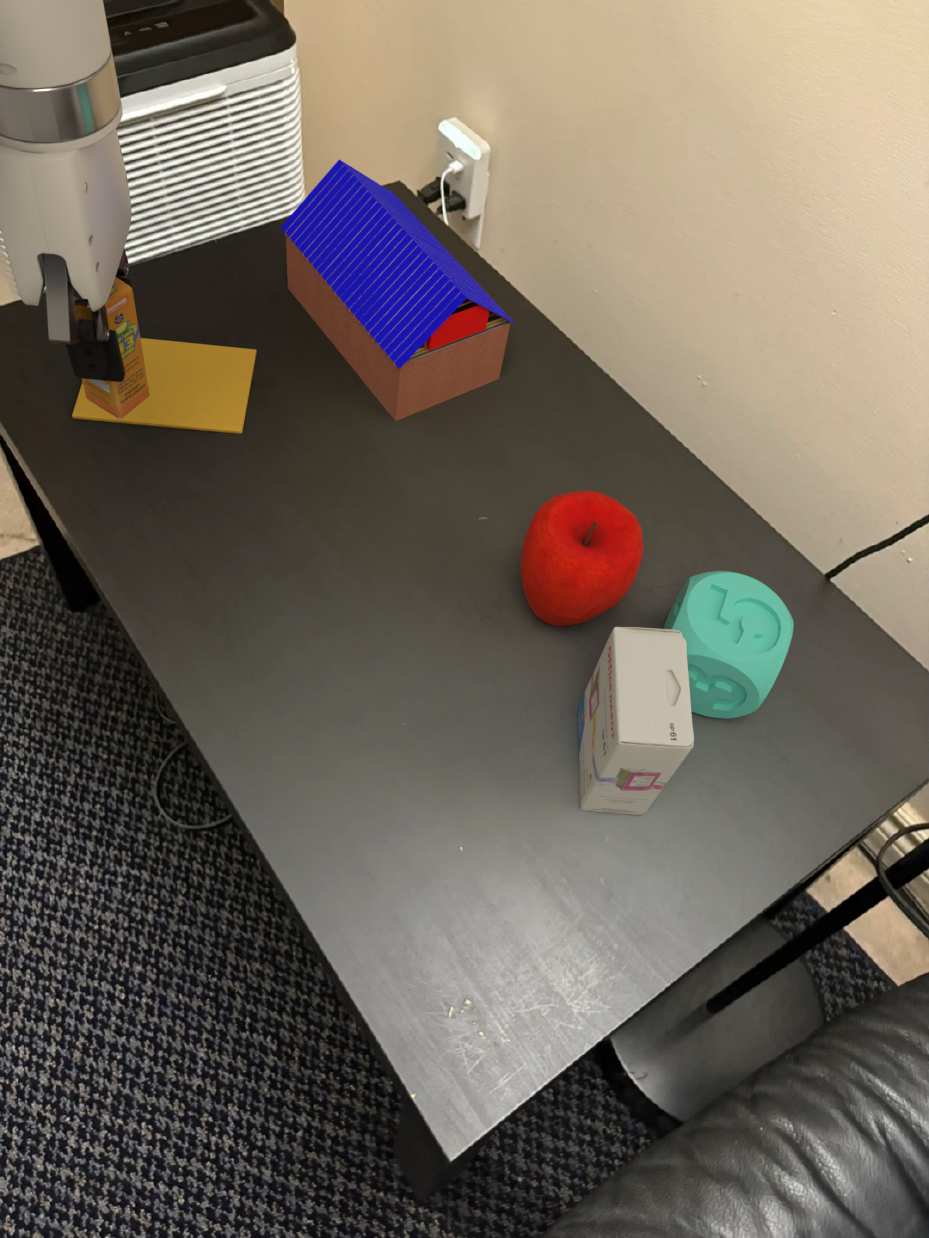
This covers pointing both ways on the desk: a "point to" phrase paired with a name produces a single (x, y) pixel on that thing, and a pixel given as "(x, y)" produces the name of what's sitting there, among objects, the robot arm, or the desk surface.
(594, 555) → the apple
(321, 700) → the desk surface
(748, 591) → the decorative dice
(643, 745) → the ink box
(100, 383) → the supplement box
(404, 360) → the house
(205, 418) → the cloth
